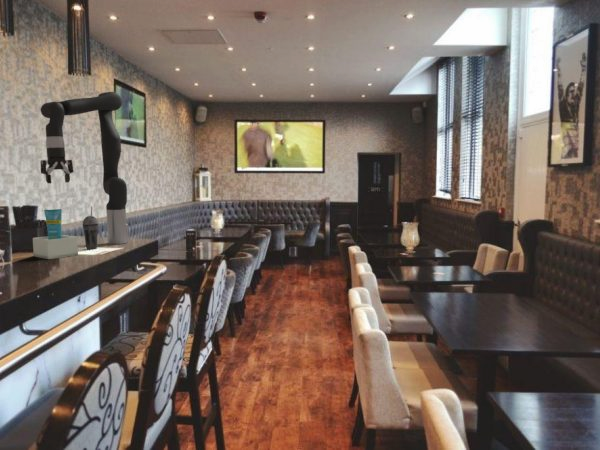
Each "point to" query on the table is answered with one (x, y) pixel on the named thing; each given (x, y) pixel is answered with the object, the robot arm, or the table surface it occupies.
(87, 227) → the beverage cup
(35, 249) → the bin
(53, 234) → the tube
